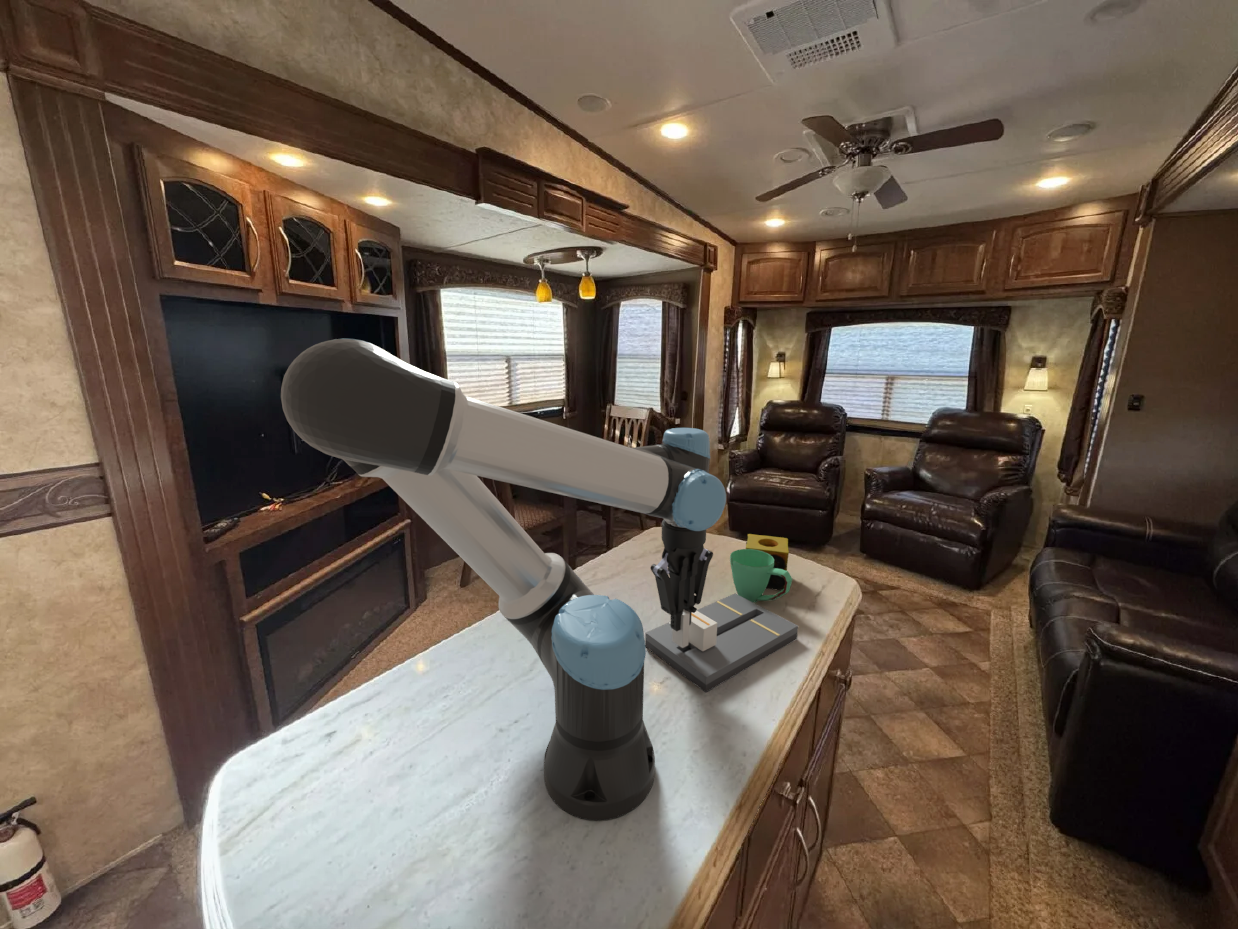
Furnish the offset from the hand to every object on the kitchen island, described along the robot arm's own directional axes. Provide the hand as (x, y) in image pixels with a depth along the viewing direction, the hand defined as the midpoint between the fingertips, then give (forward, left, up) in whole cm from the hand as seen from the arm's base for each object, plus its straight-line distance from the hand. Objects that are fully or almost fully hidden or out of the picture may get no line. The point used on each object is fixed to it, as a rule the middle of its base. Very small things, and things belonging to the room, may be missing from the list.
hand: (680, 642), depth 87 cm
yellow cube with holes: (+40, +12, -5) cm, 43 cm away
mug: (+31, +6, -5) cm, 32 cm away
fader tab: (+5, 0, -3) cm, 5 cm away
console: (+12, 0, -5) cm, 12 cm away
